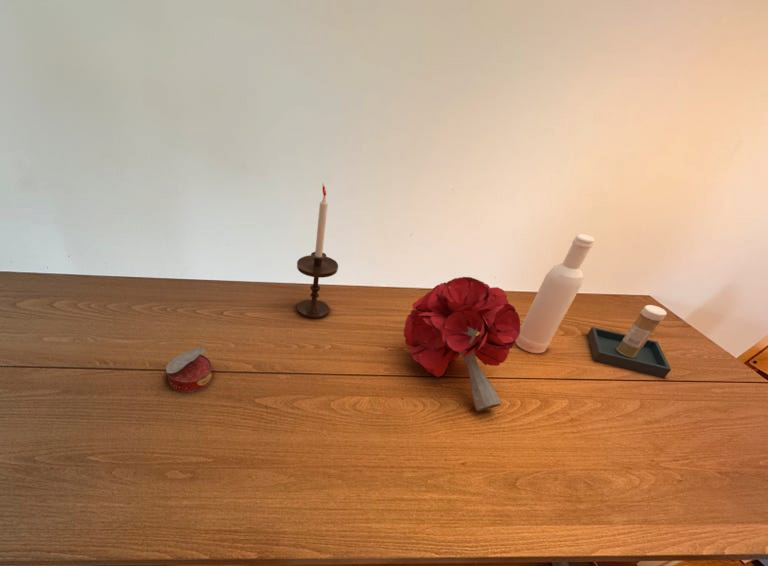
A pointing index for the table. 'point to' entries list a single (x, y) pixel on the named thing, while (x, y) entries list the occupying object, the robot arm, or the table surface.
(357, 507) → the table surface
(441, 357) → the bouquet
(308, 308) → the candlestick
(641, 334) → the sprinkles bottle
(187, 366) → the canned food
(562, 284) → the bottle
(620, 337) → the serving tray
